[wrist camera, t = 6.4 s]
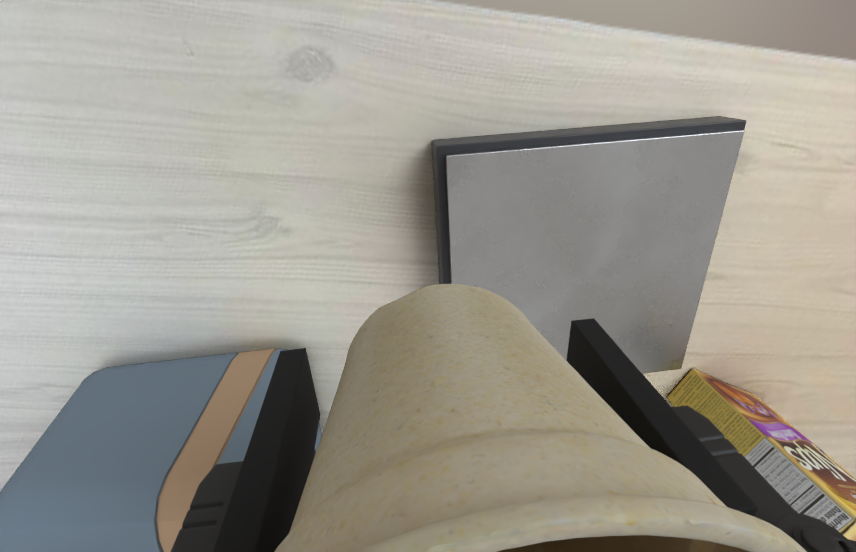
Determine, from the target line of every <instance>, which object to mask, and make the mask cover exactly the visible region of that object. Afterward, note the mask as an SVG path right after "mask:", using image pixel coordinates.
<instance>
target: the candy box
mask: <svg viewBox="0 0 856 552" xmlns="http://www.w3.org/2000/svg"><path fill="white" fill-rule="evenodd" d="M667 399H668V400H669V401H670V402H671V403H672V405H673V406H674V407H677V406H686V405H688V406H689V407H691V408H692V409H694V410H695V411H697V412H699V413H700V414H702V415H703V416H705V417H706V418H708V419H709V420H710V421H711V422H712V423H713V424H714V425H715V426H716V427H717V429H718V430H719V431H720V432H721V433H722V434H723V435H724V438H725V439H728V440H729V441H730V442H731V443H732V444H733V445H734V447H735V448H736V449H737V451H738V453H741V454H742V455H743V456H744V457H745V458H746V459H747V460H748V461H749V462H750V463H751V465H752V466H753V467H754V468H755V469H756V470H757V471H758V472H759V473H760V474H761V475H762V476H763V477H764V478H765V479H766V480H767V482H768V483H769V484H770V485H771V486H772V487H773V488H774V489H775V490H776V491H777V492H778V493H779V494H780V495H781V496H782V497H783V498H784V500H785V501H786V502H787V503H788V504H789V505H790V506H791V507H792V508H793V509H794V510H795V511H797V512H798V513H799V514H805V515H808V516H811V517H813V518H816V519H819V520H821V521H823V522H824V523H826V524H828V525H830V526H831V527H833V528H835V529H836V530H838V531H839V532H840V533H841V534H842V535H843V536H845V537H846V538H847V539H849V540H853V541H856V479H855V478H854V477H853V476H852V475H851V474H849V473H848V472H847V471H846V470H844V469H843V468H842V467H841V466H840V465H838V464H837V463H836V462H835V461H834V460H832V459H831V458H830V457H829V456H828V455H827V454H825V453H824V452H823V451H822V450H821V449H819V448H818V447H817V446H816V445H815V444H813V443H812V442H811V441H810V440H808V439H807V438H806V437H805V436H804V435H802V434H801V433H800V432H799V431H798V430H796V429H795V428H794V427H793V426H792V425H790V424H789V423H788V422H787V421H786V420H784V419H783V418H782V417H781V416H779V415H778V414H777V413H776V412H775V411H773V410H772V409H771V408H770V407H769V406H767V405H766V404H765V403H764V402H763V401H761V400H760V399H759V398H758V397H756V396H755V395H754V394H752V393H749V392H747V391H744V390H741V389H739V388H736V387H734V386H732V385H729V384H727V383H725V382H723V381H720V380H718V379H716V378H713V377H711V376H709V375H706V374H704V373H702V372H700V371H698V370H695V369H691V370H690V371H689V373H688V374H687V375H686V376H685V377H684V378H683V379H682V380H681V381H680V383H679V384H678V385H677V386H676V387H675V388H674V389H673V390H672V392H671V393H670V394H669V395H668V396H667Z"/></svg>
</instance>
